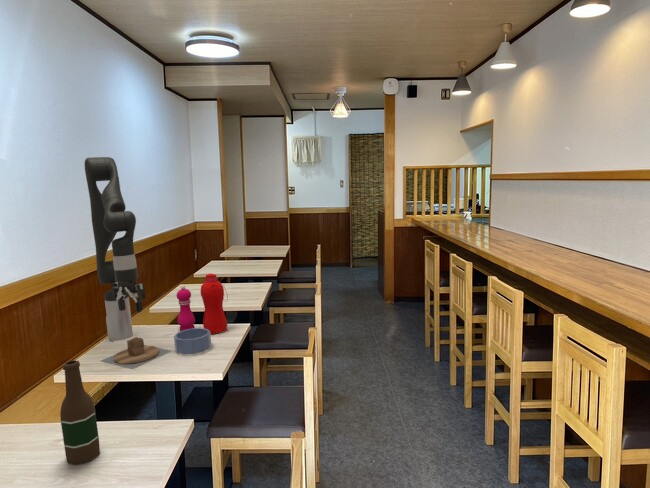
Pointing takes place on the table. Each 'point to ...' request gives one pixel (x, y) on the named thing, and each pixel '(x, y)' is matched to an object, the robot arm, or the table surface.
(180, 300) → the pepper mill
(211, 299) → the water bottle
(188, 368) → the table surface
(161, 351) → the mat
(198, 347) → the bowl
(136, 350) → the lid
